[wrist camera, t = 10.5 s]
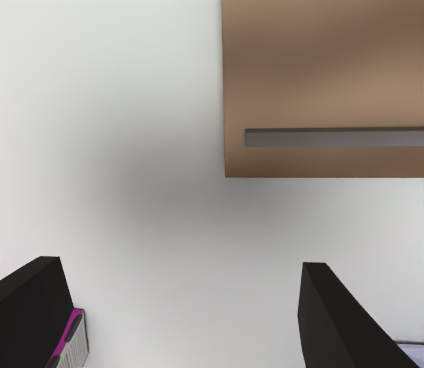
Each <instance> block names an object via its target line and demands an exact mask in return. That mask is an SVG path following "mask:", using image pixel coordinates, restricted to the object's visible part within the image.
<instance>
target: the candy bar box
mask: <svg viewBox="0 0 424 368" xmlns="http://www.w3.org/2000/svg"><path fill="white" fill-rule="evenodd" d="M88 353H89V349H88V340H87V336H86V330H85V319H84V312H83V311H82V310H79V309H73V311H72V314H71V316H70V319H69V321H68V324H67V326H66V329H65V331H64V333H63V335H62V338H61V340H60V342H59V344H58V346H57V347H56V349H55V351H54V353H53V355H52V356H51V358H50V360H49V362H48V364H47V365H46V367H45V368H82V367H83V365H84V363H85V361H86V358H87V356H88Z"/></svg>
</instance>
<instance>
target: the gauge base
mask: <svg viewBox="0 0 424 368" xmlns="http://www.w3.org/2000/svg"><path fill="white" fill-rule="evenodd" d="M222 42H223V95H224V148H225V177H244V178H424V0H222Z"/></svg>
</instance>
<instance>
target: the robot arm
mask: <svg viewBox="0 0 424 368" xmlns="http://www.w3.org/2000/svg"><path fill="white" fill-rule="evenodd" d="M73 309H74V306H73V303H72V299H71V296H70V292H69V289H68V285H67V282H66V278H65V275H64V271H63V268H62V264H61V261H60V257H50V256H40V257H38V258H36V259H34V260H33V261H31V262H29V263H27V264H26V265H24V266H22V267H21V268H19V269H18V270H16V271H14V272H13V273H11V274H10V275H8V276H6V277H5V278H3V279H2V280H0V368H45V367H46V365H47V364H48V362H49V360H50V358H51V356H52V355H53V353H54V351H55V349H56V347H57V346H58V344H59V342H60V340H61V338H62V335H63V333H64V331H65V329H66V326H67V324H68V321H69V319H70V316H71V314H72V311H73ZM297 316H298V324H299V331H300V339H301V346H302V352H303V356H304V361H305V365H306V368H424V345H413V344H396V343H395V342H394V341H393V340H392V339H391V338H390V337H389V336H388V335H387V334H386V333H385V331H384V330H383V329H382V328H381V327H380V326H379V325H378V324H377V323H376V322H375V321H374V319H373V318H372V317H371V316H370V315H369V314H368V313H367V312H366V311H365V309H364V308H363V307H362V306H361V305H360V304H359V303H358V301H357V300H356V299H355V298H354V297H353V296H352V294H351V293H350V292H349V291H348V290H347V288H346V287H345V286H344V285H343V284H342V282H341V281H340V280H339V279H338V277H337V276H336V275H335V274H334V272H333V271H332V270H331V269H330V267H329V266H328V265H327V264H326V263H313V262H303V267H302V277H301V287H300V296H299V306H298V315H297Z"/></svg>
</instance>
